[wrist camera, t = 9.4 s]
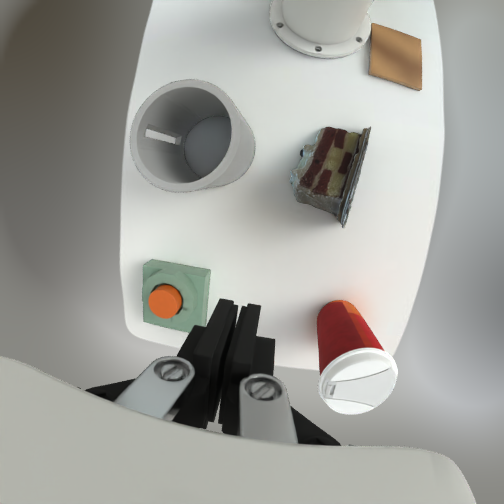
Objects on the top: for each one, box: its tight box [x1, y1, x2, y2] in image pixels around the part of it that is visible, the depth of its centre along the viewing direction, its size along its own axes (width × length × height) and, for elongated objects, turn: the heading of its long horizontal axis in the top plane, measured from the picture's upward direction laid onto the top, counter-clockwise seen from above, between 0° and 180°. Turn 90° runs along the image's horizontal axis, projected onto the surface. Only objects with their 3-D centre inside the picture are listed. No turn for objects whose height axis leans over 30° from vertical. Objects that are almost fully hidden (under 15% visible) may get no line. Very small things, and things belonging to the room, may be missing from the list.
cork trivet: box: [369, 23, 422, 91], centre depth 26 cm, size 8×7×1 cm
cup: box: [130, 79, 255, 193], centre depth 26 cm, size 9×9×12 cm
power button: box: [148, 285, 182, 319], centre depth 32 cm, size 4×4×2 cm
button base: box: [142, 259, 211, 333], centre depth 35 cm, size 8×8×4 cm
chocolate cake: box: [290, 127, 371, 228], centre depth 30 cm, size 10×7×12 cm
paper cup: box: [317, 300, 398, 414], centre depth 29 cm, size 8×8×14 cm
